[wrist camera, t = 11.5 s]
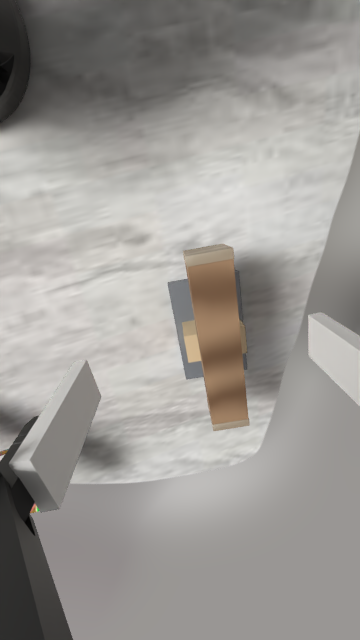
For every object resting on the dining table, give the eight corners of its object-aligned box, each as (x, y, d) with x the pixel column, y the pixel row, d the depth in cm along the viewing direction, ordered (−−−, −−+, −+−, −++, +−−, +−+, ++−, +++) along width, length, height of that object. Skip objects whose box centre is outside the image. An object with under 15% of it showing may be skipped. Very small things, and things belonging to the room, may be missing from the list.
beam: (182, 250, 29) (185, 256, 24) (222, 243, 29) (233, 247, 24) (207, 404, 37) (213, 431, 32) (239, 399, 37) (249, 425, 32)
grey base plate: (167, 282, 36) (167, 293, 31) (236, 270, 36) (249, 279, 30) (185, 375, 42) (188, 399, 36) (245, 365, 42) (257, 388, 36)
